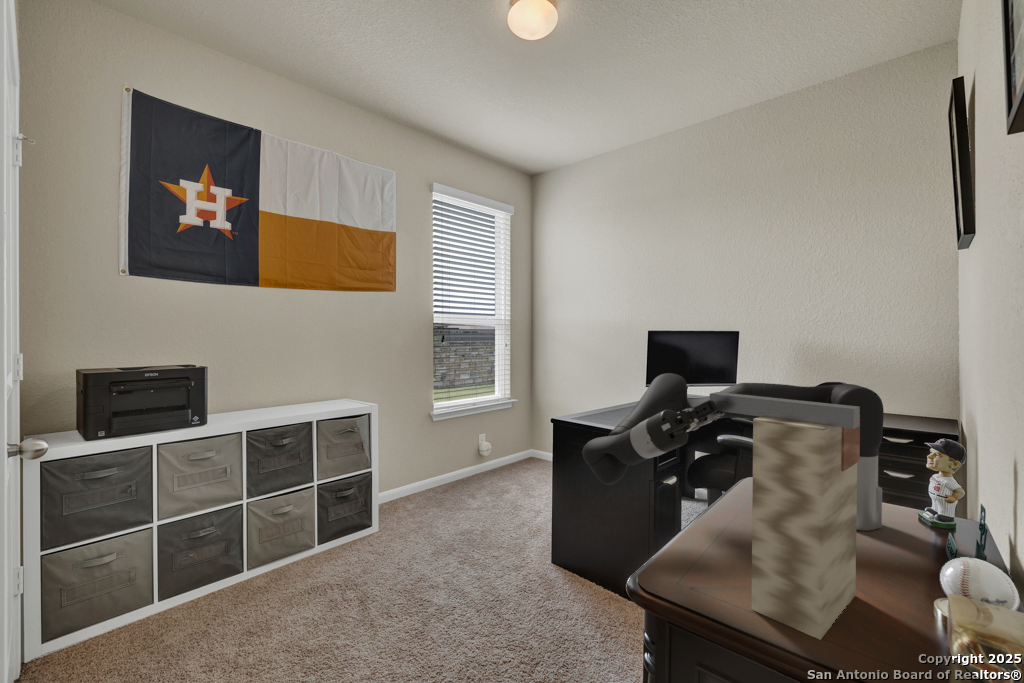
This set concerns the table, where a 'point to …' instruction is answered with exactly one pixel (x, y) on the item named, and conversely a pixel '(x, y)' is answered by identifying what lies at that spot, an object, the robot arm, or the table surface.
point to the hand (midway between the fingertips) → (726, 402)
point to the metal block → (789, 409)
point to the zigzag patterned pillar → (804, 522)
